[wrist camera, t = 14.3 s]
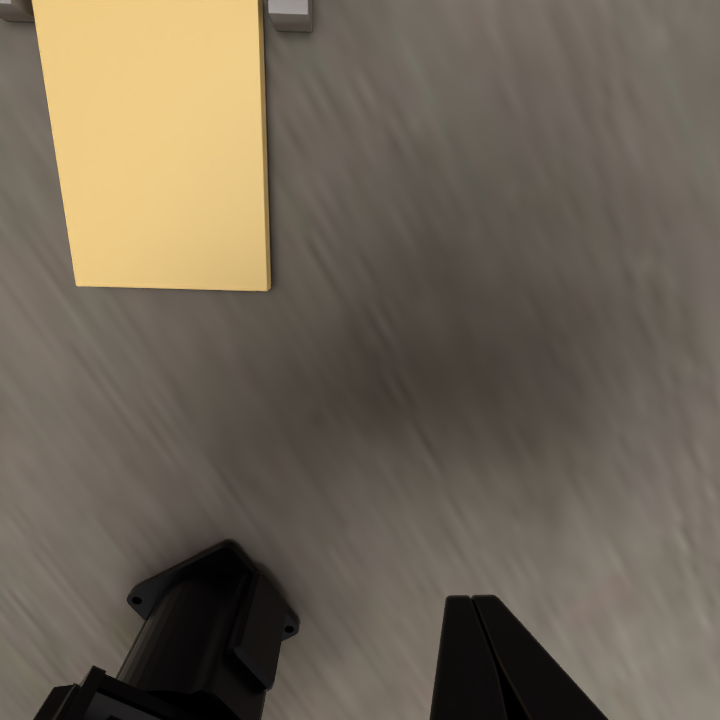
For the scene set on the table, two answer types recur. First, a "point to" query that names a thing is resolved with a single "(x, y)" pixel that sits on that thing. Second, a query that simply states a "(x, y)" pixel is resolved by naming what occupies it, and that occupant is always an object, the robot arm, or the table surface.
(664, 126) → the table surface
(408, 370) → the table surface
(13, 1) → the socket plate
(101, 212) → the latch flap
